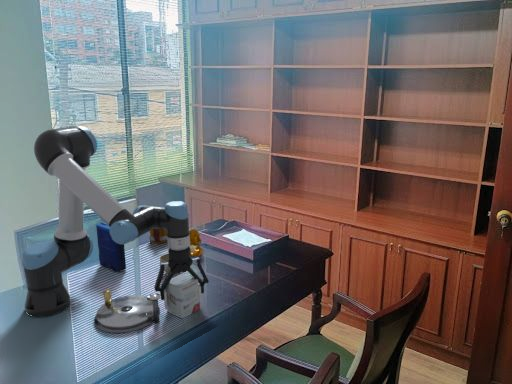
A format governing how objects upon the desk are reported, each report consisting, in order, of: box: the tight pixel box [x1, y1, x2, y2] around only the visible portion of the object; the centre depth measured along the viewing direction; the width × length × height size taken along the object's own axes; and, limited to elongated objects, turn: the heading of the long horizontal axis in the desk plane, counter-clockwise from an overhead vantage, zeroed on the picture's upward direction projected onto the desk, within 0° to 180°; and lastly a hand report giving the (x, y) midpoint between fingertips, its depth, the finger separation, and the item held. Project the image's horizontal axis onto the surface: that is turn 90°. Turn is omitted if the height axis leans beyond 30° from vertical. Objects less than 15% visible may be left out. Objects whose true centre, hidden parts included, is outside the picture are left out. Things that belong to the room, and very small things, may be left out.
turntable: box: [96, 289, 154, 329], centre depth 153 cm, size 20×20×7 cm
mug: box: [148, 229, 168, 245], centre depth 222 cm, size 11×16×15 cm, turn 4°
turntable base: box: [93, 292, 161, 334], centre depth 153 cm, size 22×22×10 cm
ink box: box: [166, 273, 201, 319], centre depth 155 cm, size 9×9×12 cm
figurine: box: [189, 228, 204, 257], centre depth 206 cm, size 9×11×12 cm
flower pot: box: [159, 253, 178, 276], centre depth 187 cm, size 10×10×7 cm
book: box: [95, 221, 127, 273], centre depth 190 cm, size 14×5×20 cm, turn 53°
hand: (183, 304), depth 156 cm, fingers closed on ink box, 11 cm apart
